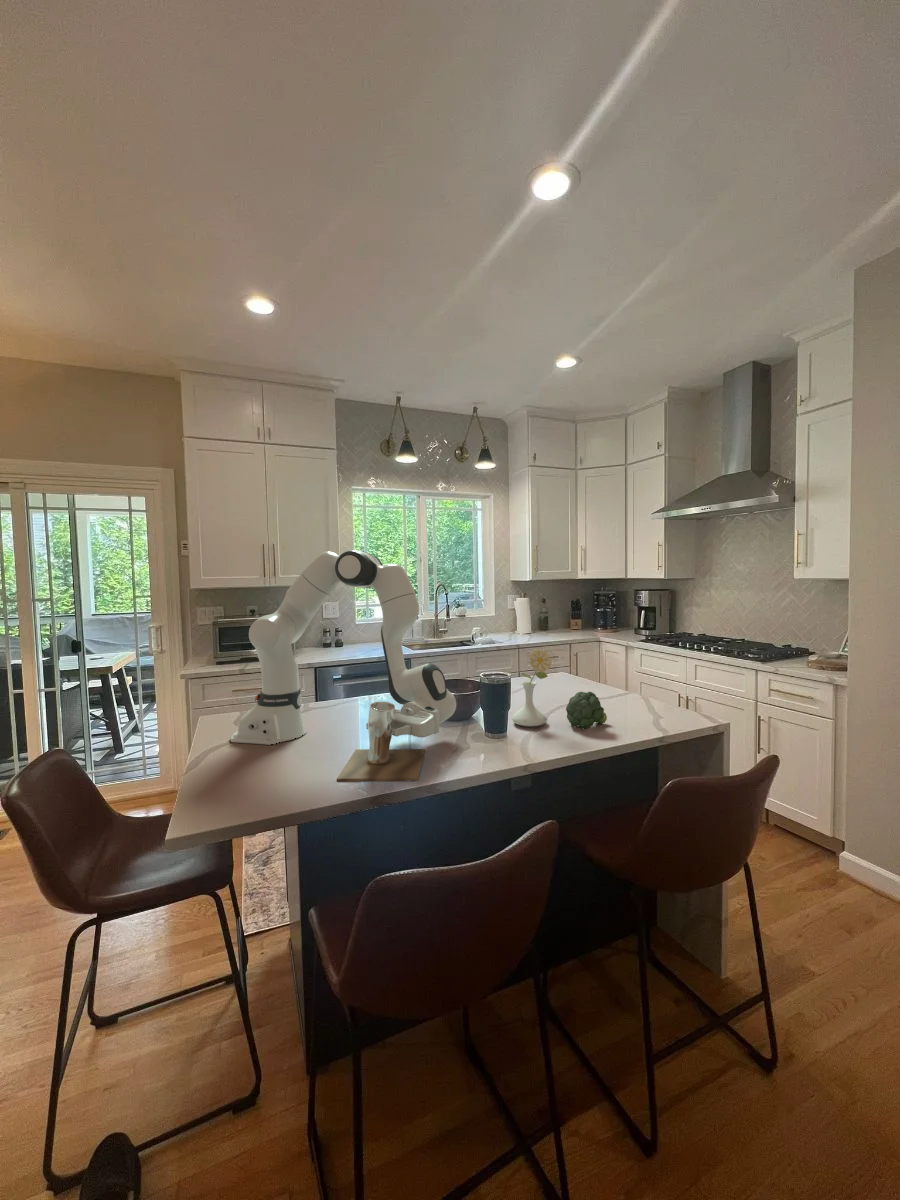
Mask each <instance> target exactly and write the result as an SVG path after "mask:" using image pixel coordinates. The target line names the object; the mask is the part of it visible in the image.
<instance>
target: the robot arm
mask: <svg viewBox="0 0 900 1200" xmlns="http://www.w3.org/2000/svg"><path fill="white" fill-rule="evenodd" d="M342 583H343V584H344V585H347V586H349V587H353V588H358V589H363V588H366V589H369V588H371V589H373V590H374V591H375V593H376V595H377V597H378V601H379V604H380V609H381V612H382V624H381V628H380V636H381V637H380V638H381V644H382V649H383V654H384V659H385V666H386V670H387V679H388V681H387V684H388V687H387V688H388V691H389V692H388V693H389V695H390V696H391V698H392V700H394V701H395V702H396V703H398V704H399V705H402V706H401V708H400V709H396V708H395V724H394V729H392V737H399V736H407V735H409V736H411V737H413V736H414V737H417V738H427V737H429V736H432V735H436V734H438V733H439V732H440V724H442V723H444V721H447V720H448V719H449V718H451V717H452V716H453V714H455V711H456V709H457V701H456V697H455V696H454V694H453V693H452V692H451V691H449V689H448V688H447V682H446V678H445V676H444V673H443V672H442V670H441V669H440V668H439V667H438V666H437V665H435V664H433V663H428V662H427V663H426V664H422V665H419V666H415V667H413V668H410V669H408V668H407V667H406V662H405V656H404V651H403V647H402V646H403V645H402V643H403V638H404V636H405V635H406V632H408V630H409V629H410V628H411V627H412V626H414V624H415V623H416V621H417V619H418V617H419V613H420V605H419V600H418V598H417V595H416V593H415V589H414V587H413V584H412V581H411V580H410V578H409V576H408V574H407V572H406V571H405V568H404V567H403V566H402V565H400V564H399V563H388V564H383V563H382V561H381V560H380V559H379V558H378V557H377V556H375V555H372V554H371V553H369V552H366V551H360V550H356V549H353V550H352V549H351V550H347V551H344V552H342V553H341V554H340V555H339V554H338V553H336V552H333V551H328V550H327V551H323V552H321V553H320V554H319V555H317V556H316V557H315V558H314V559H313V560H312V561H311V562H310V563H309V564H308V565H307V566H306V567H305V568H304V569H303V570H302V571H301V573H300V574H299V576H298V577H297V578H296V579H295V580H294V582H293V583H292V584H291V585H290V586H289V588H288V589H287V590H286V592H285V597H284V598H283V600H282V601H281V604H280V606H279V607H278V609H277V610H276V611H274V612H273V613H269V614H266V615H262V616H260V617H259V618H257V619H256V620H255V621H254V622H253V623H252V624H251V625H250V627H249V630H248V638H249V642H250V644H252V646H253V648H254V649H255V650H256V655H257V657H258V661H259V665H260V672H261V673H260V674H261V688H262V689H261V691H260V693H258V694H257V695H256V696H254V701H257V704H255V706H253V707H252V708H250V709H249V710H248V711H246V713H245V714H243V716H242V717H241V718H240V720H239V723H238V726H237V727H238V728H237V730H236V731H234V733H232V734H231V736H230V740H231V741H230V742H231V743H238V744H239V743H242V744H254V745H255V744H256V745H269V746H270V745H271V744H273V745H277V744H280V743H283V742H286V741H288V742H289V741H291V740H292V741H293V740H295V738H296V739H299V738H300V737H303V736H304V735H305V734H306V733H307V730H306V727H305V724H304V719H303V715H302V708H301V707H302V693H301V692H302V691H301V688H300V679H299V664H298V662H297V661H296V659H295V657H294V652H293V647H292V644H294V643H296V642H297V641H298V640H299V639H300V638H301V637H302V636H303V634H304V632H305V631H306V629H307V628H308V626H309V625H310V623H311V621H312V620H313V618H314V617H315V615H316V613H317V612H318V611H319V609H320V608H321V607H322V606H323V605H324V603H325V602H326V601H327V600H328V598H329V597H330V596H331V595H332V593H334V591H335V590H336V588H337V587H339V586H340V585H341V584H342ZM365 726H366V730H368V722H367V723H366V725H365ZM302 735H303V736H302ZM279 742H280V743H279ZM276 743H277V744H276Z"/></svg>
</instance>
